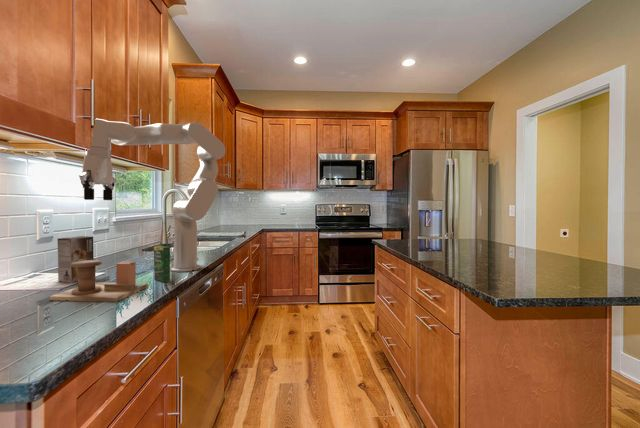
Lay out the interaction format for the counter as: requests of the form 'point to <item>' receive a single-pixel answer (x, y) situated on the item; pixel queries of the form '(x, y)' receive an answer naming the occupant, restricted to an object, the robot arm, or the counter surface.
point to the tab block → (126, 273)
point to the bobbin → (86, 277)
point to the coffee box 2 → (162, 263)
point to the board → (102, 292)
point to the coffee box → (73, 256)
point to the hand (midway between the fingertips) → (98, 199)
